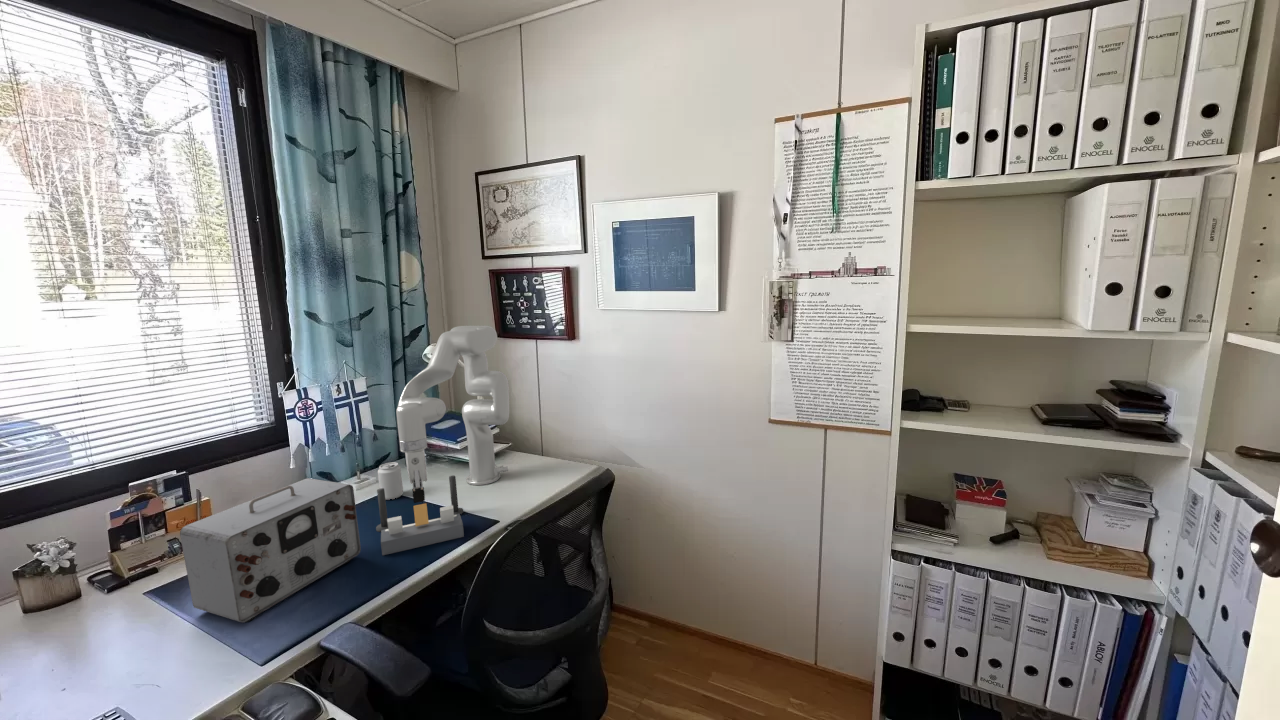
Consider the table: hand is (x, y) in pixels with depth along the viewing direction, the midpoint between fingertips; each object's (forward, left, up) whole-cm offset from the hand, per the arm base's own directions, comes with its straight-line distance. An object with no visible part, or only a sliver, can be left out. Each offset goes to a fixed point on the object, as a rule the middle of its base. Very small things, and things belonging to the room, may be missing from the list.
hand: (419, 500), depth 157 cm
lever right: (-7, +8, -5) cm, 12 cm away
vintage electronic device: (+32, +16, -10) cm, 37 cm away
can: (+8, -32, -9) cm, 35 cm away
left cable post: (+10, -6, -9) cm, 15 cm away
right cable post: (-11, -6, -9) cm, 15 cm away
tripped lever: (0, +8, -5) cm, 9 cm away
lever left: (+7, +8, -5) cm, 12 cm away
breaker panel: (0, +8, -9) cm, 12 cm away
